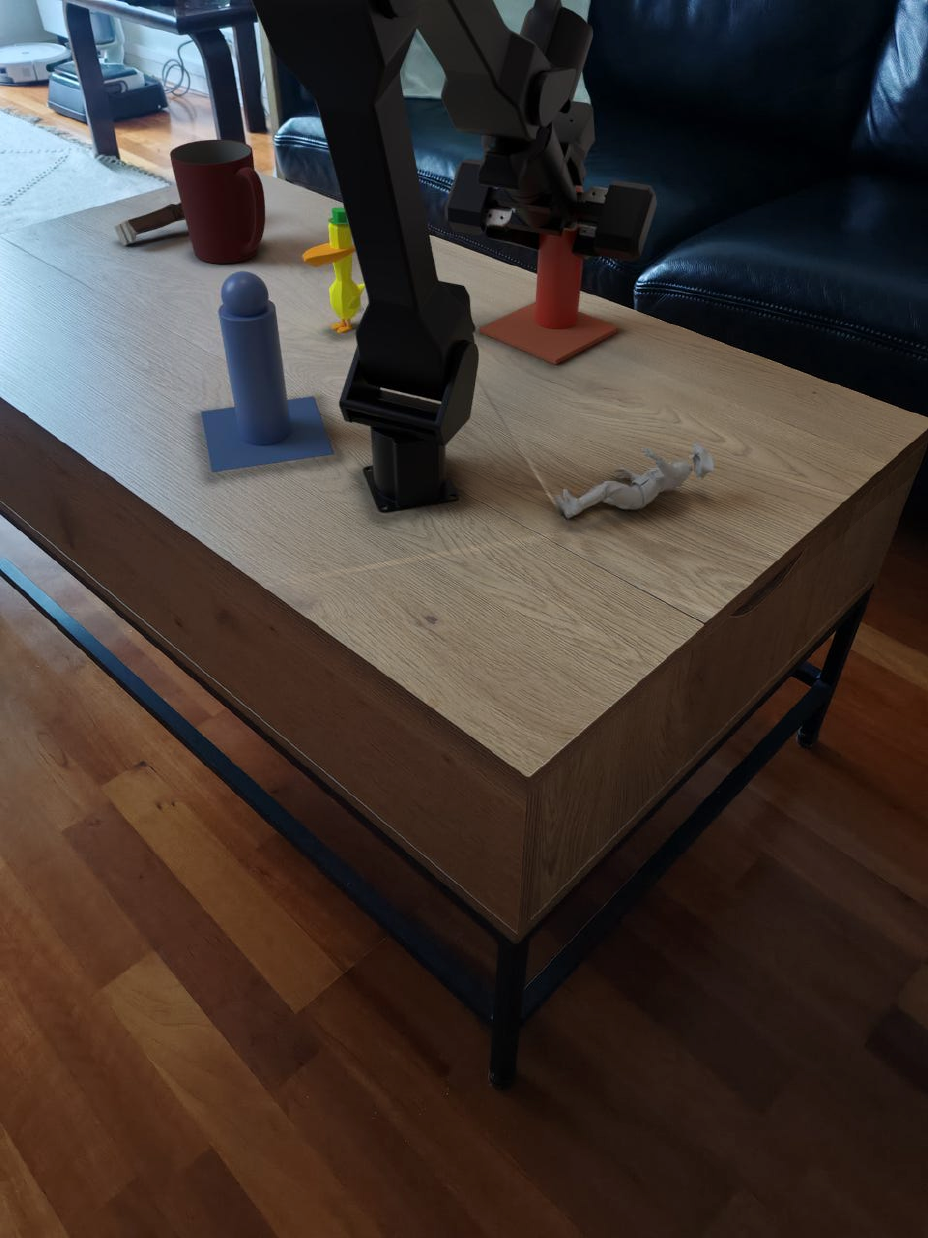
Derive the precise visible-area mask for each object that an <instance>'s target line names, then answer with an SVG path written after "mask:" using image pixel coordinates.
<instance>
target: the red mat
mask: <svg viewBox="0 0 928 1238" xmlns="http://www.w3.org/2000/svg"><path fill="white" fill-rule="evenodd" d="M535 302H536V301H534V302H532V303H530V304H528V305H525V306H524V307H522V308H519V309H517V310H515V311H513V312H511V313H509V314H507V315H504V316H502V317H500V318H498V319H495V320H493V321H492V322H489V323H487V324H484V325H483V326H481V327H479V333H480V334H482V335H485V336H487V337H490V338H492V339H494V340H497V341H499V342H501V343H504V344H506V345H508V346H511V347H513V348H515V349H517V350H520V351H521V352H522V351H523V352H525V353H527V354H529V355H532V356H534V357H537V358H538V359H541V360H543V361H546V362H549V363H551V364H552V365H558V364H559V363H562V362H564V361H565V360H567V359H569V358H571V357H573V356H574V355H576V354H578V353H580V352H582V351H584V350H586V349H588V348H590V347H592V346H594V345H596V344H598V343H600V342H601V341H603V340H605V339H607V338H609V337H611V336H613V335H614V334H616V333H618V332H619V330H620V329H619V326H617V325H615V324H613V323H609V322H606V321H603V320H602V319H599V318H596V317H593V316H592V315H589V314H586V313H583V312H582V311H581V312H580V311H578V321H577V323H576V324H575V325H573V326H571V327H568V328H563V329H553V328H547V327H544V326H541V325H539V324H538V323H537V322H536V321H535Z"/></svg>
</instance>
